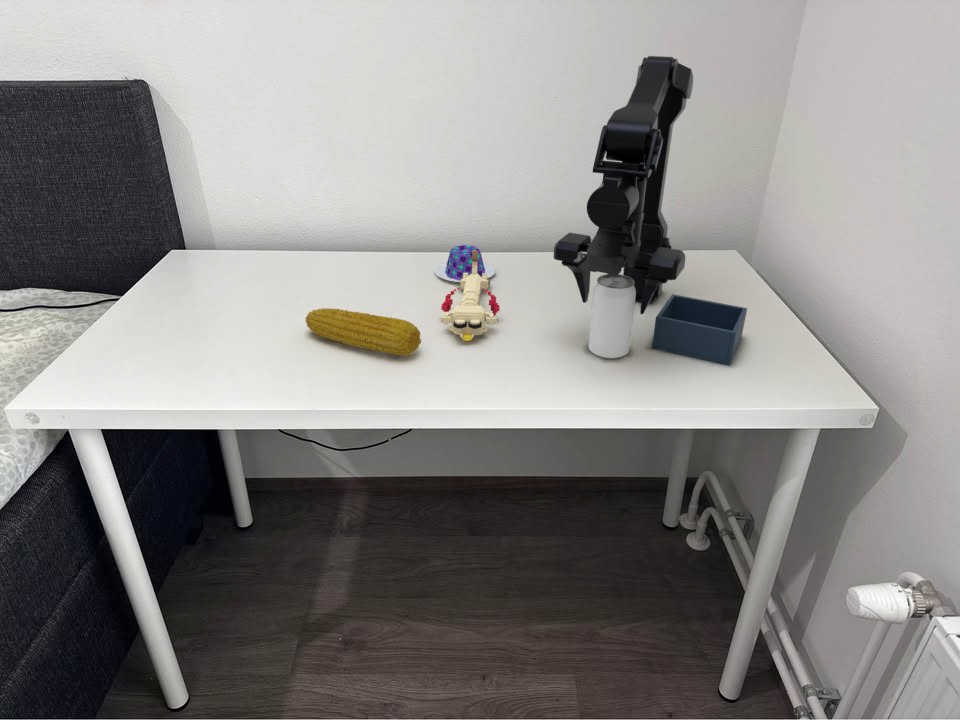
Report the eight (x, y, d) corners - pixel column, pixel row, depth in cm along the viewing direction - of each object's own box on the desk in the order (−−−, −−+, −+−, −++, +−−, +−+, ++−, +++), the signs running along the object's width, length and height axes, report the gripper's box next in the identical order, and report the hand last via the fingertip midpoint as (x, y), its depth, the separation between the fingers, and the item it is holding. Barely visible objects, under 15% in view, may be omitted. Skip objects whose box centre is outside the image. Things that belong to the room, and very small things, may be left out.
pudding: (441, 262, 147) (440, 237, 145) (498, 264, 146) (498, 240, 143) (430, 283, 137) (429, 258, 135) (491, 287, 136) (491, 261, 133)
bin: (651, 348, 114) (655, 316, 111) (667, 323, 121) (672, 294, 119) (729, 365, 109) (735, 333, 106) (741, 338, 117) (747, 308, 114)
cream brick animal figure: (449, 292, 137) (436, 341, 114) (449, 247, 133) (435, 289, 110) (500, 293, 136) (497, 342, 113) (501, 248, 133) (498, 291, 110)
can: (633, 345, 114) (641, 276, 109) (623, 363, 109) (631, 291, 103) (595, 338, 117) (601, 270, 111) (583, 355, 112) (588, 284, 106)
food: (425, 350, 113) (423, 316, 110) (407, 366, 108) (405, 331, 106) (316, 326, 121) (312, 294, 118) (296, 340, 116) (291, 307, 113)
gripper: (541, 214, 99) (537, 315, 107) (673, 235, 92) (658, 341, 99) (570, 195, 108) (564, 289, 116) (693, 212, 100) (678, 311, 108)
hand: (613, 307), depth 109 cm, fingers open, 9 cm apart
